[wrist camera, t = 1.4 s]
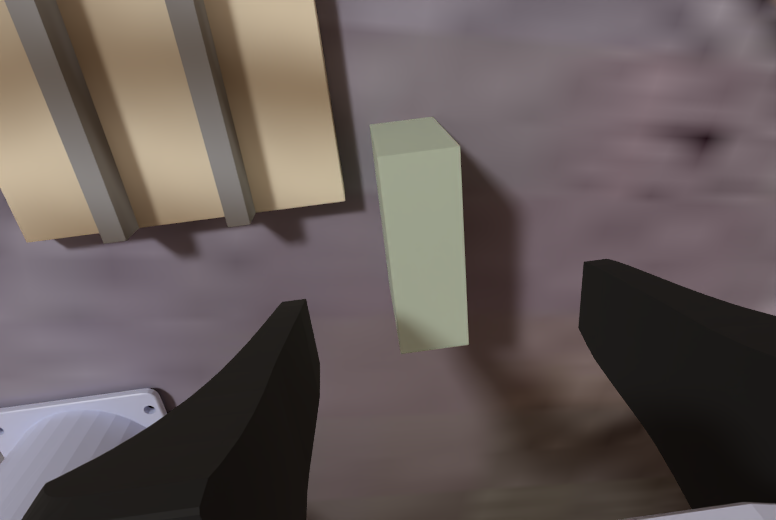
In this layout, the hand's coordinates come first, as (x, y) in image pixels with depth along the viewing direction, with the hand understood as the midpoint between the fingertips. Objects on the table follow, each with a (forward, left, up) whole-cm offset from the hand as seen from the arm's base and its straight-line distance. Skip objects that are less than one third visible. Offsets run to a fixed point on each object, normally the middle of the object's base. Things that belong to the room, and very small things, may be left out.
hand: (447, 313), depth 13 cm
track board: (+6, +9, -8) cm, 13 cm away
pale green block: (0, 0, -8) cm, 8 cm away
